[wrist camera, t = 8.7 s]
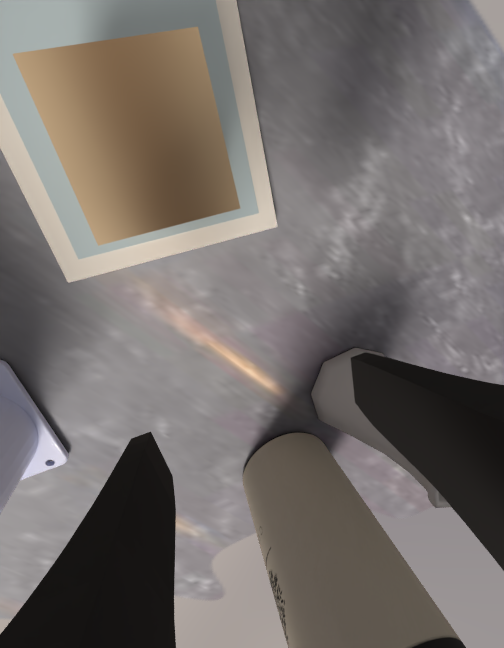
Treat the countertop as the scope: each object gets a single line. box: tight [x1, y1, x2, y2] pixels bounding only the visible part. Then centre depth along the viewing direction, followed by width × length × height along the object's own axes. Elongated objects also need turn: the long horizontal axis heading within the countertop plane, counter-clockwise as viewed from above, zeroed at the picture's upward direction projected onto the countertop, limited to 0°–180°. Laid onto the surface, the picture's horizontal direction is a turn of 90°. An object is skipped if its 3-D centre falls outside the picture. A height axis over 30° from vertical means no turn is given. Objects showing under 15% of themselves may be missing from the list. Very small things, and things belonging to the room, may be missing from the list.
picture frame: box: [0, 0, 278, 283], centre depth 14 cm, size 12×12×1 cm
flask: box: [311, 348, 451, 508], centre depth 19 cm, size 7×7×10 cm
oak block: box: [13, 27, 240, 246], centre depth 11 cm, size 5×5×6 cm
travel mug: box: [243, 433, 466, 648], centre depth 17 cm, size 8×8×18 cm
